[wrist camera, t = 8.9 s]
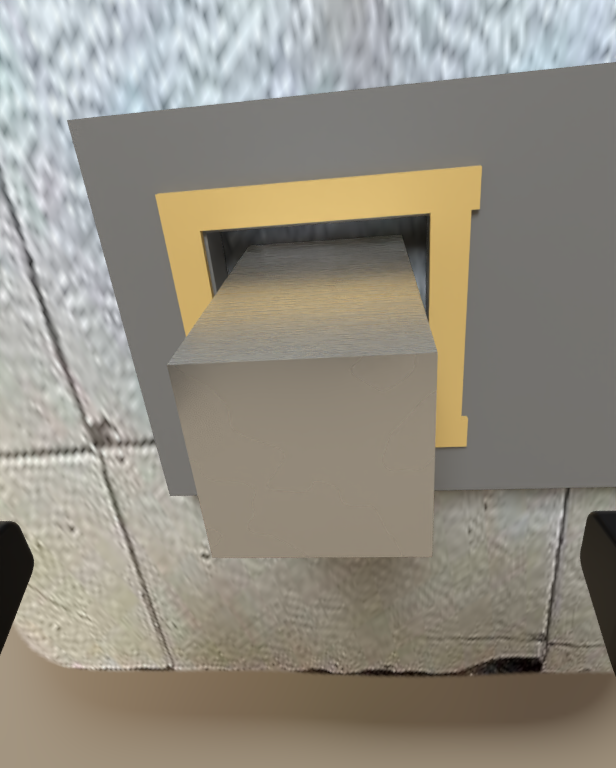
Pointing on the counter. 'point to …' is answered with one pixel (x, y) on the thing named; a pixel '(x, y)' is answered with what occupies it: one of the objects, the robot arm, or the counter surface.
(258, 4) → the counter surface
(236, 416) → the peg
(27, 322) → the counter surface
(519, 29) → the counter surface
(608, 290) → the rail
